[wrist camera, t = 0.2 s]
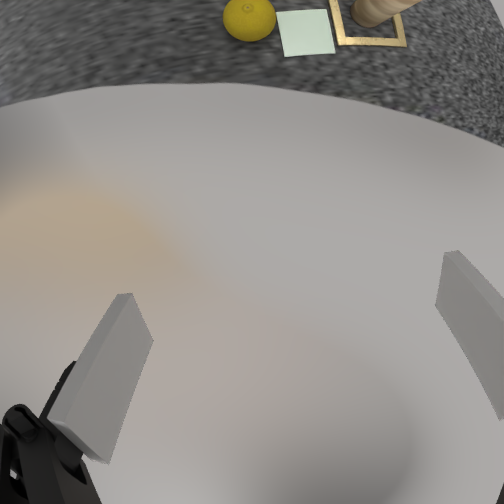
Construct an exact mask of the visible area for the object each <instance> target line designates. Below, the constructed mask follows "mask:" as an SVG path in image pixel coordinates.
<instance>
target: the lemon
mask: <svg viewBox="0 0 504 504" xmlns="http://www.w3.org/2000/svg"><path fill="white" fill-rule="evenodd" d="M223 23H224V26H225V28H226V30H227V31H228V32H229V33H230V34H231V35H232V36H234V37H235V38H237V39H239V40H243V41H257V40H260V39H262V38H264V37H266V36H267V35H268V34H270V32H271V31H272V30H273V28H274V26H275V23H276V13H275V9H274V8H273V6H272V4H271V3H270V2H269V1H268V0H231V1H230V2H229V3H228V4H227V5H226V7H225V9H224V13H223Z"/></svg>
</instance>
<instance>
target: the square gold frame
mask: <svg viewBox="0 0 504 504" xmlns="http://www.w3.org/2000/svg"><path fill="white" fill-rule="evenodd" d="M328 5H329V9H330V13H331V18H332V22H333V27H334V32H335V37H336V42H337V46H388V47H407V45H406V39H405V34H404V29H403V25H402V20H401V16H400V12H399V13H398V14H396V15H394V16H392V17H391V18H392V23H393V27H394V32H395V37H396V39H393V38H373V37H345V33H344V28H343V23H342V18H341V14H340V10H339V5H338V1H337V0H328Z"/></svg>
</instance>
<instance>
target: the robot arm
mask: <svg viewBox="0 0 504 504" xmlns="http://www.w3.org/2000/svg"><path fill="white" fill-rule="evenodd" d="M435 306H436V308H437V309H438V311H439V312H440V314H441V316H442V317H443V319H444V320H445V322H446V324H447V325H448V327H449V328H450V330H451V332H452V333H453V335H454V337H455V338H456V340H457V341H458V343H459V345H460V346H461V348H462V350H463V352H464V353H465V355H466V357H467V359H468V360H469V362H470V364H471V366H472V367H473V369H474V371H475V373H476V375H477V377H478V378H479V380H480V382H481V384H482V386H483V388H484V390H485V392H486V394H487V396H488V398H489V400H490V402H491V404H492V406H493V408H494V410H495V412H496V414H497V417H498V419H499V421H501V420H503V419H504V298H503V297H502V296H501V295H500V294H499V293H498V291H497V290H496V289H495V288H494V287H493V286H492V285H491V284H490V283H489V281H488V280H487V279H485V277H484V276H483V275H482V274H481V273H480V272H479V271H478V270H477V269H476V268H475V267H474V266H473V265H472V264H471V262H470V261H469V260H468V259H466V257H465V256H464V255H463V254H462V253H461V252H460V251H458V250H457V251H451V252H446V253H444V258H443V265H442V272H441V277H440V283H439V288H438V294H437V299H436V304H435ZM152 343H153V338H152V336H151V334H150V332H149V330H148V328H147V326H146V323H145V321H144V319H143V317H142V315H141V312H140V310H139V308H138V306H137V303H136V301H135V299H134V296H133V294H132V293H127V294H118V295H117V296H116V297H115V299H114V300H113V302H112V304H111V305H110V307H109V308H108V310H107V312H106V313H105V315H104V316H103V318H102V320H101V321H100V323H99V324H98V326H97V328H96V329H95V331H94V333H93V334H92V336H91V338H90V339H89V341H88V343H87V345H86V346H85V348H84V350H83V351H82V353H81V355H80V357H79V358H78V360H77V361H73V362H72V363H71V364H70V365H69V366H68V367H67V368H66V369H65V370H64V372H63V374H62V376H61V378H60V379H59V382H58V383H57V385H56V386H55V390H53V392H52V394H51V395H50V397H49V399H48V401H47V403H46V405H45V407H44V409H43V411H42V413H41V415H40V417H39V418H37V417H36V416H35V415H34V414H33V413H32V412H31V410H30V409H29V408H28V407H27V406H25V405H23V404H17V405H14V406H13V407H11V408H10V409H9V410H8V411H7V412H6V413H5V416H4V417H3V420H2V425H1V424H0V504H102V503H101V501H100V498H99V497H98V494H97V492H96V489H95V487H94V485H93V482H92V480H91V477H90V475H89V473H88V470H87V467H86V465H85V463H84V462H83V460H82V459H81V457H82V455H83V453H84V454H85V455H86V456H87V457H89V458H90V459H91V460H92V461H95V462H100V463H104V464H108V465H109V463H110V460H111V457H112V454H113V450H114V448H115V445H116V441H117V439H118V435H119V433H120V430H121V427H122V424H123V421H124V418H125V416H126V413H127V410H128V407H129V404H130V401H131V399H132V396H133V393H134V391H135V388H136V385H137V382H138V380H139V376H140V374H141V372H142V369H143V367H144V364H145V361H146V358H147V356H148V354H149V351H150V349H151V346H152ZM10 469H11V470H13V471H14V472H15V473H16V474H17V477H16V479H14V478H13V477H11V476H10ZM496 504H504V484H503V487H502V490H501V492H500V495H499V498H498V500H497V503H496Z"/></svg>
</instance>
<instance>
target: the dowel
mask: <svg viewBox="0 0 504 504" xmlns="http://www.w3.org/2000/svg"><path fill="white" fill-rule="evenodd" d="M420 1H421V0H356V1H355V2H354V3H353V4H352V5H351V7H350V14H351V17H352V19H353V20H354V21H355V22H356V23H357V24H358V25H360V26H362V27H366V28H373V27H375V26H377V25H379V24H380V23H382V22H384V21H385V20H387V19H389V18H391V17H392V16H394V15H396V14H398V13H399V12H401V11H403V10H405V9H407V8H408V7H410V6H412V5H414V4H416V3H418V2H420Z"/></svg>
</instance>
